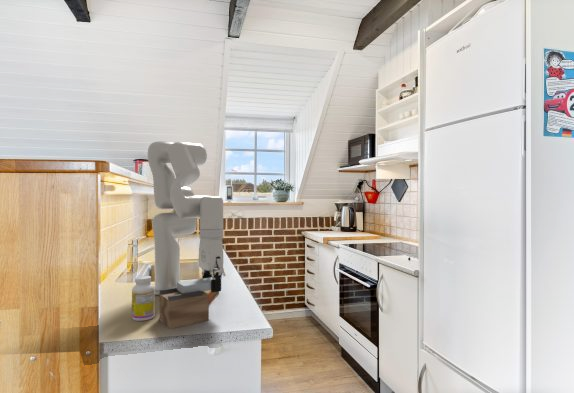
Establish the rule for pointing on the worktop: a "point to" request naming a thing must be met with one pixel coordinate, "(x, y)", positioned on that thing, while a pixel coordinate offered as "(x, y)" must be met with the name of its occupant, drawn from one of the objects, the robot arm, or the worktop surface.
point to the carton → (211, 295)
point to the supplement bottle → (143, 299)
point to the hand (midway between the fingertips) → (211, 288)
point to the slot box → (183, 307)
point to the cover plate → (194, 285)
